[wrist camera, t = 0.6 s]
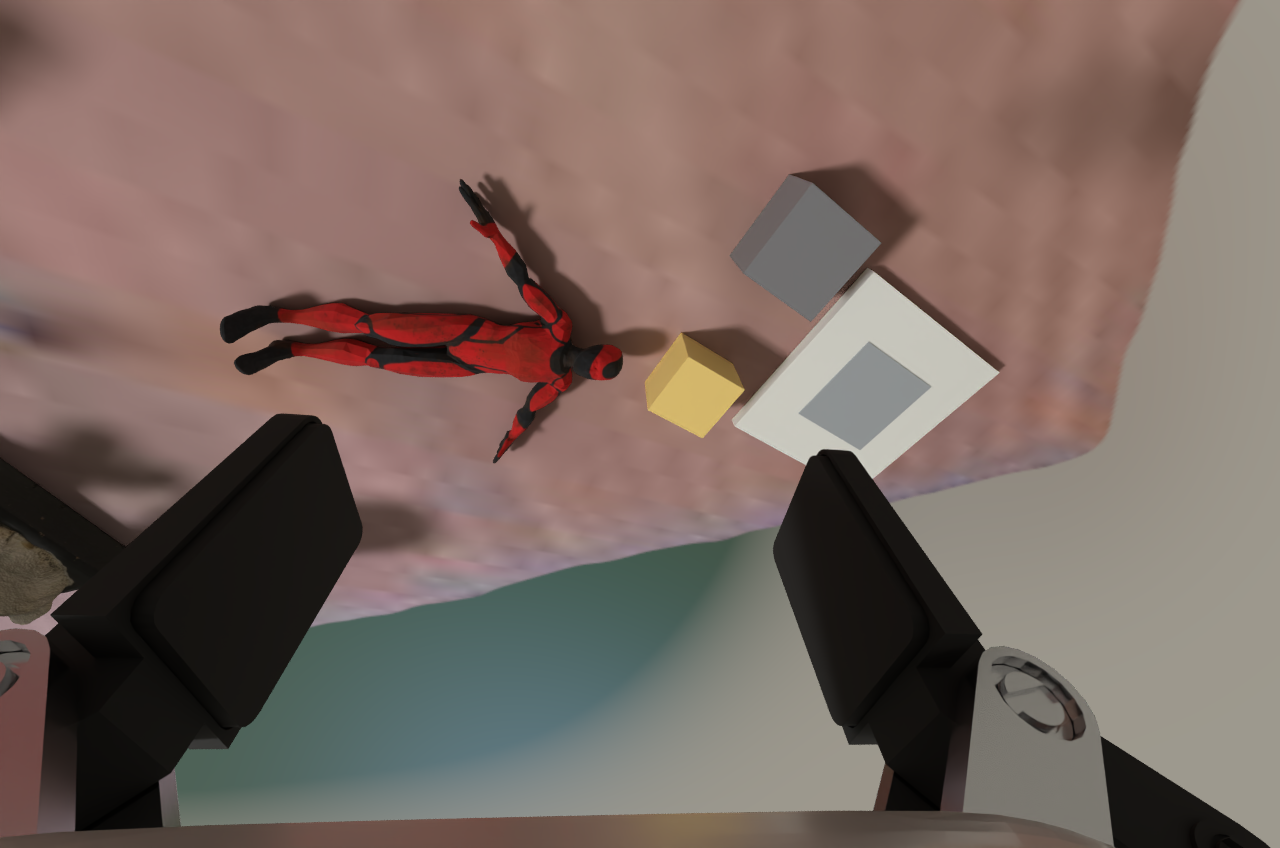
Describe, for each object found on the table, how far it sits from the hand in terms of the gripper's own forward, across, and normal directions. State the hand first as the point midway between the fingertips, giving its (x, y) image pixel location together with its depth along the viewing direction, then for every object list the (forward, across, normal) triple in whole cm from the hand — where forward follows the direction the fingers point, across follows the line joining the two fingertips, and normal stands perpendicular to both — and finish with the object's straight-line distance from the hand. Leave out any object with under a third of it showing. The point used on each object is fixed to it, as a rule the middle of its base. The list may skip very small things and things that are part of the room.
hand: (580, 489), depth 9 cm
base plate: (+31, -26, +14) cm, 43 cm away
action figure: (+32, +13, +12) cm, 36 cm away
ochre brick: (+31, -9, +13) cm, 35 cm away
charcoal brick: (+31, -15, 0) cm, 35 cm away
